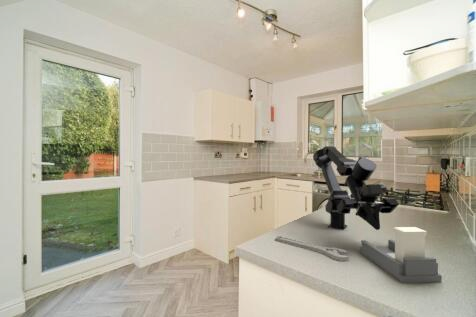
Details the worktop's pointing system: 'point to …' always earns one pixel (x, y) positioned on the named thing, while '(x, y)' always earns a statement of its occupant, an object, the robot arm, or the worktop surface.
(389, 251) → the switch housing
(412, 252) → the switch tab
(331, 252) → the adjustable wrench
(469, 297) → the worktop surface
